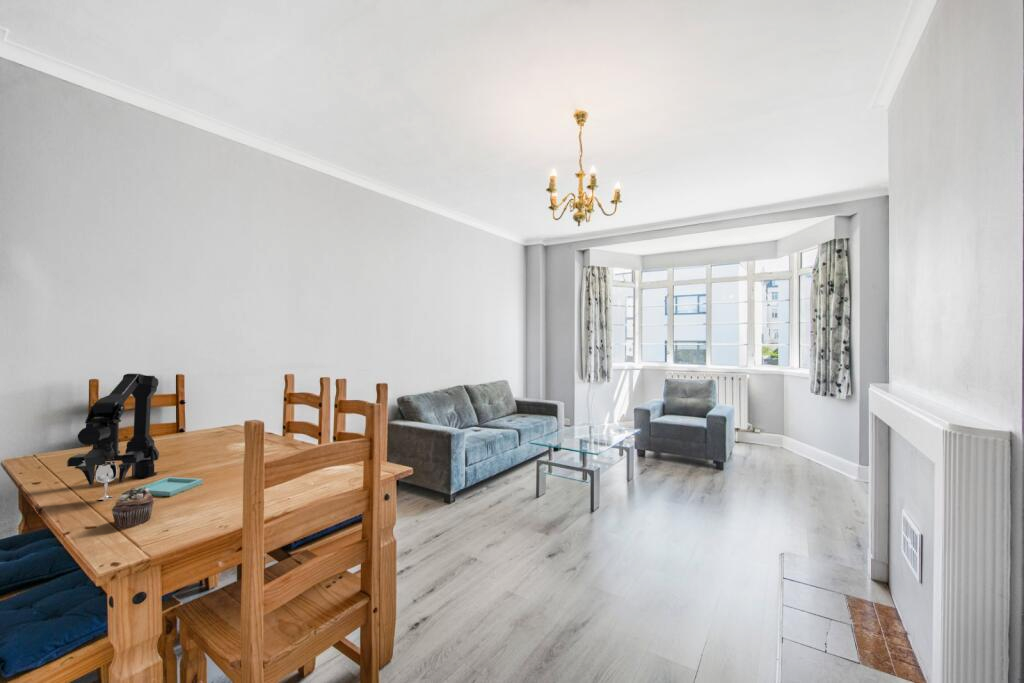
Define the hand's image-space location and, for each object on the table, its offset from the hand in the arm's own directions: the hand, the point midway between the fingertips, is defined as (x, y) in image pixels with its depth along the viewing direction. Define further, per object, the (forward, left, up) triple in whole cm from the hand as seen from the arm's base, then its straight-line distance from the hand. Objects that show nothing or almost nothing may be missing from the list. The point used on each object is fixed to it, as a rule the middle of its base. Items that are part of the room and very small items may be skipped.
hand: (106, 483), depth 148 cm
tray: (+12, +12, -5) cm, 18 cm away
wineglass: (0, 0, -5) cm, 5 cm away
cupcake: (+26, -15, -5) cm, 31 cm away
